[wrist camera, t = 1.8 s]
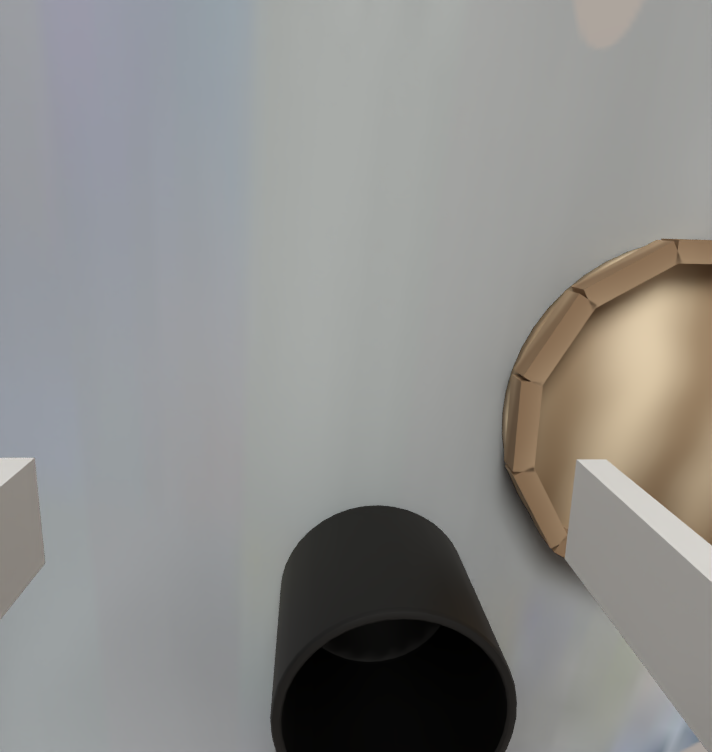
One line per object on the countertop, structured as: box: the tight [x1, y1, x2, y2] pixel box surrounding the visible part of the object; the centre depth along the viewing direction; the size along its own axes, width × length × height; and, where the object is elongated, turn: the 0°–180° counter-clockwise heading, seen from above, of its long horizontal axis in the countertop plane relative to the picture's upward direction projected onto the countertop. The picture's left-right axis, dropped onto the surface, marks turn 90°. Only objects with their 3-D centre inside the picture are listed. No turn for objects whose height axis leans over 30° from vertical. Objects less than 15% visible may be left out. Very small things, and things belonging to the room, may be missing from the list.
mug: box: [270, 505, 517, 752], centre depth 28 cm, size 9×12×9 cm
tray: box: [502, 239, 712, 558], centre depth 30 cm, size 17×17×2 cm
